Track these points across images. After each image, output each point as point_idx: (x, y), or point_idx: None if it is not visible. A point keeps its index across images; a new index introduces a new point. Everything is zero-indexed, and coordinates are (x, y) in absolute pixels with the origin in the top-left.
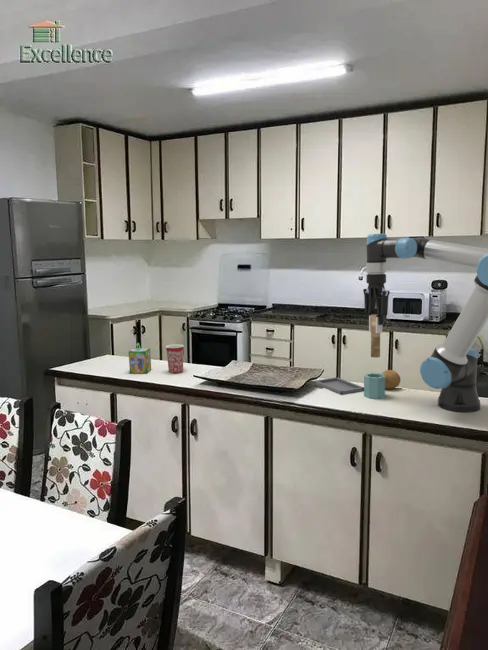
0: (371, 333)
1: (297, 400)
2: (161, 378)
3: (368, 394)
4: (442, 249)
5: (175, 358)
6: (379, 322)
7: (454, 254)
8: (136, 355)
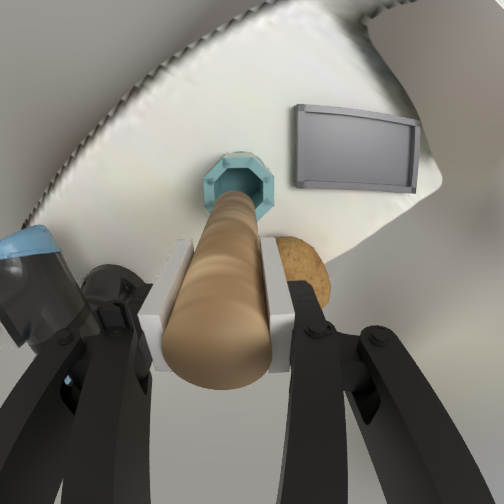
0: (233, 227)
1: (322, 8)
2: None
3: (230, 153)
4: None
5: None
6: (143, 295)
7: None
8: None
